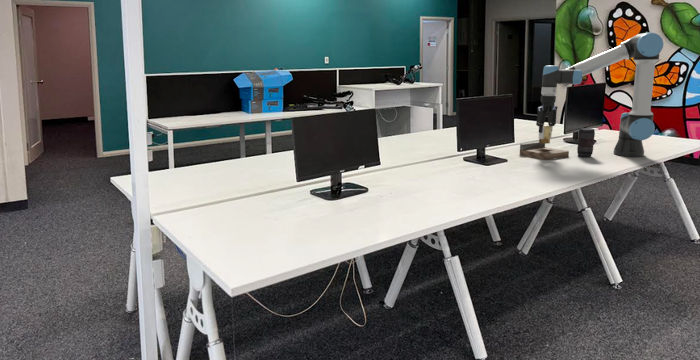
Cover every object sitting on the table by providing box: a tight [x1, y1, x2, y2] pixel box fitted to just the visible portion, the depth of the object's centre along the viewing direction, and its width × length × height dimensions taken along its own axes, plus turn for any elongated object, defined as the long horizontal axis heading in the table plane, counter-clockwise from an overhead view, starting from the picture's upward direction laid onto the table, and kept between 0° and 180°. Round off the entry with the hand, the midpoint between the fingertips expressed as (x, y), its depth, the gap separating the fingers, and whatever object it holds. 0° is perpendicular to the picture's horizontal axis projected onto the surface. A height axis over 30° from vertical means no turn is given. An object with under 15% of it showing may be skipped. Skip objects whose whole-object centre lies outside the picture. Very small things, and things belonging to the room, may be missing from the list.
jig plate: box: [519, 141, 570, 161], centre depth 304 cm, size 18×18×6 cm
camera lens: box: [576, 128, 596, 159], centre depth 301 cm, size 8×8×15 cm
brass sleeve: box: [538, 125, 552, 145], centre depth 302 cm, size 6×6×9 cm
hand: (544, 138), depth 302 cm, fingers closed on brass sleeve, 5 cm apart
